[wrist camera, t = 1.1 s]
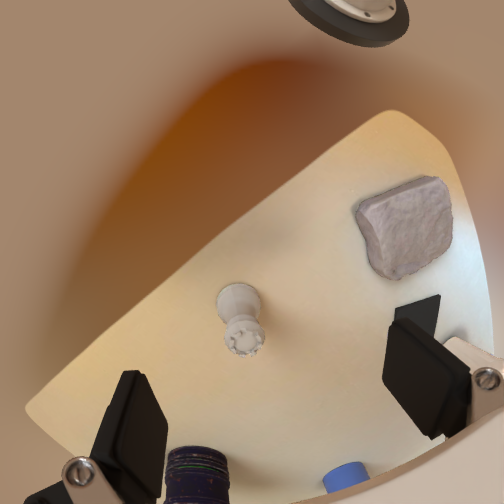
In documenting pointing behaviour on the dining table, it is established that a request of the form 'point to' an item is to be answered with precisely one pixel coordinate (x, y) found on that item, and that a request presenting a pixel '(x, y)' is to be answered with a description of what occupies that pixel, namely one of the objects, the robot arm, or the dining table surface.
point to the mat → (421, 313)
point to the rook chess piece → (241, 319)
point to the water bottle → (345, 477)
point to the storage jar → (196, 476)
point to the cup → (473, 355)
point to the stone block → (407, 226)
